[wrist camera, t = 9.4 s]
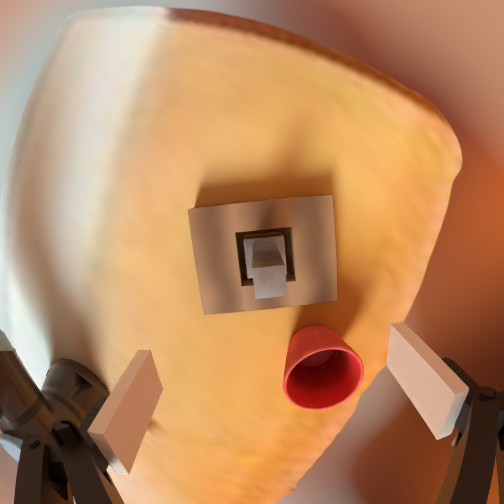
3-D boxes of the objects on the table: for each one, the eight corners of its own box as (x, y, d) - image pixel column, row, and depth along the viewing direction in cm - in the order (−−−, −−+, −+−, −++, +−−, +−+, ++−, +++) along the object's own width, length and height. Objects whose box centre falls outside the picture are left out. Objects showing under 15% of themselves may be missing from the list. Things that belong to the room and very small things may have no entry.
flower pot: (268, 329, 43) (272, 365, 33) (337, 305, 42) (357, 335, 33) (288, 380, 45) (295, 419, 36) (350, 358, 44) (368, 393, 35)
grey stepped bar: (248, 270, 41) (245, 309, 27) (244, 234, 40) (239, 258, 26) (283, 266, 41) (298, 304, 27) (280, 231, 40) (295, 253, 26)
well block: (208, 303, 42) (203, 314, 38) (194, 207, 39) (187, 209, 35) (330, 290, 42) (337, 300, 38) (324, 194, 39) (332, 195, 35)
